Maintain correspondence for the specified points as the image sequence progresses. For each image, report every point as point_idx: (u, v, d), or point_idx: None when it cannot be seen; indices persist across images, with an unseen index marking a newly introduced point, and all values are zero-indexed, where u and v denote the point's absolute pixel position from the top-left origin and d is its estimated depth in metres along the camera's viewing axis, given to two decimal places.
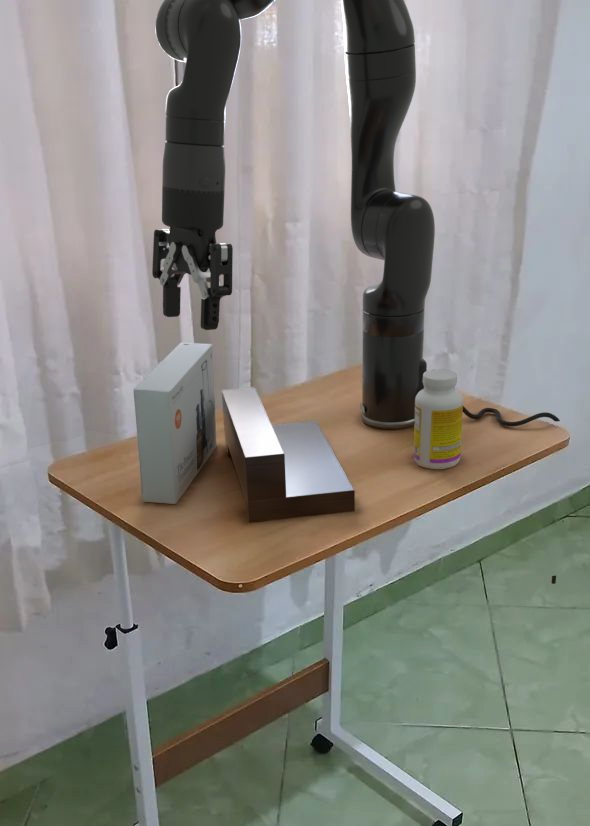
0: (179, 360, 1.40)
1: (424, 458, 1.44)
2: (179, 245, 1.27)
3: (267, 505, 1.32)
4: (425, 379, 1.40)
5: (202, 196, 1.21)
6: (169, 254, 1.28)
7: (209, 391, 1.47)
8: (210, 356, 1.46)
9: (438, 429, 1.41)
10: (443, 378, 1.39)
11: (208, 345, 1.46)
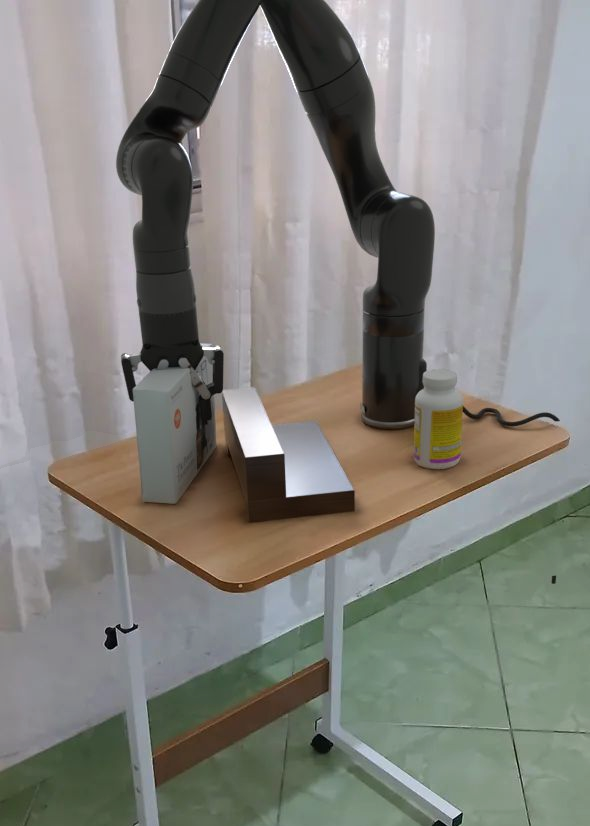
0: None
1: (424, 458, 1.44)
2: (167, 360, 1.36)
3: (267, 505, 1.32)
4: (425, 379, 1.40)
5: (195, 310, 1.34)
6: None
7: None
8: None
9: (438, 429, 1.41)
10: (443, 378, 1.39)
11: (207, 344, 1.46)
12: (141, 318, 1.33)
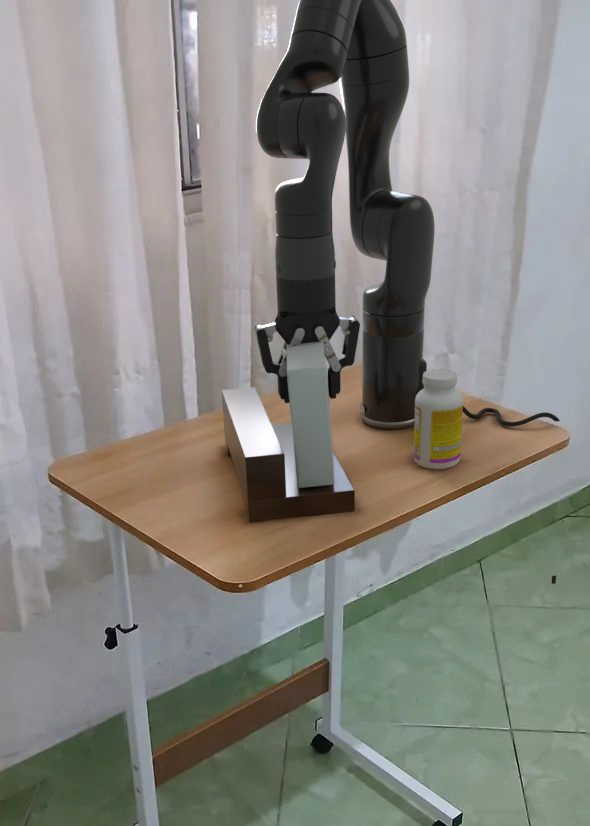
0: None
1: (424, 458, 1.44)
2: (303, 328, 1.32)
3: (267, 505, 1.32)
4: (425, 379, 1.40)
5: (334, 277, 1.30)
6: (293, 342, 1.33)
7: None
8: None
9: (438, 429, 1.41)
10: (443, 378, 1.39)
11: None
12: (279, 285, 1.29)
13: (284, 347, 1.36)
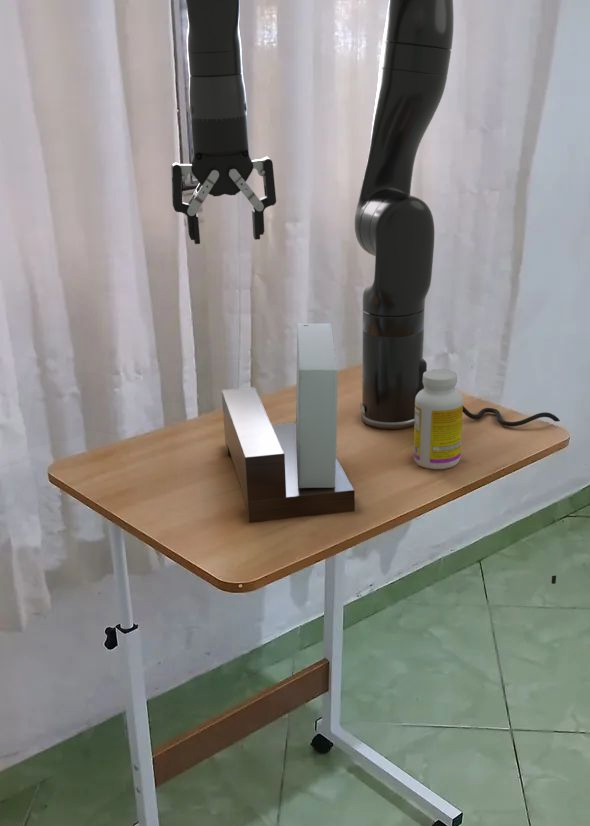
0: (315, 340, 1.35)
1: (424, 458, 1.44)
2: (218, 171, 1.39)
3: (267, 505, 1.32)
4: (425, 379, 1.40)
5: (246, 120, 1.37)
6: (206, 183, 1.39)
7: None
8: None
9: (438, 429, 1.41)
10: (443, 378, 1.39)
11: (328, 324, 1.42)
12: (193, 126, 1.36)
13: (197, 189, 1.42)
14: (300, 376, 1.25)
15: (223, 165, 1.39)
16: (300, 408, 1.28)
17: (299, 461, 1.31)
